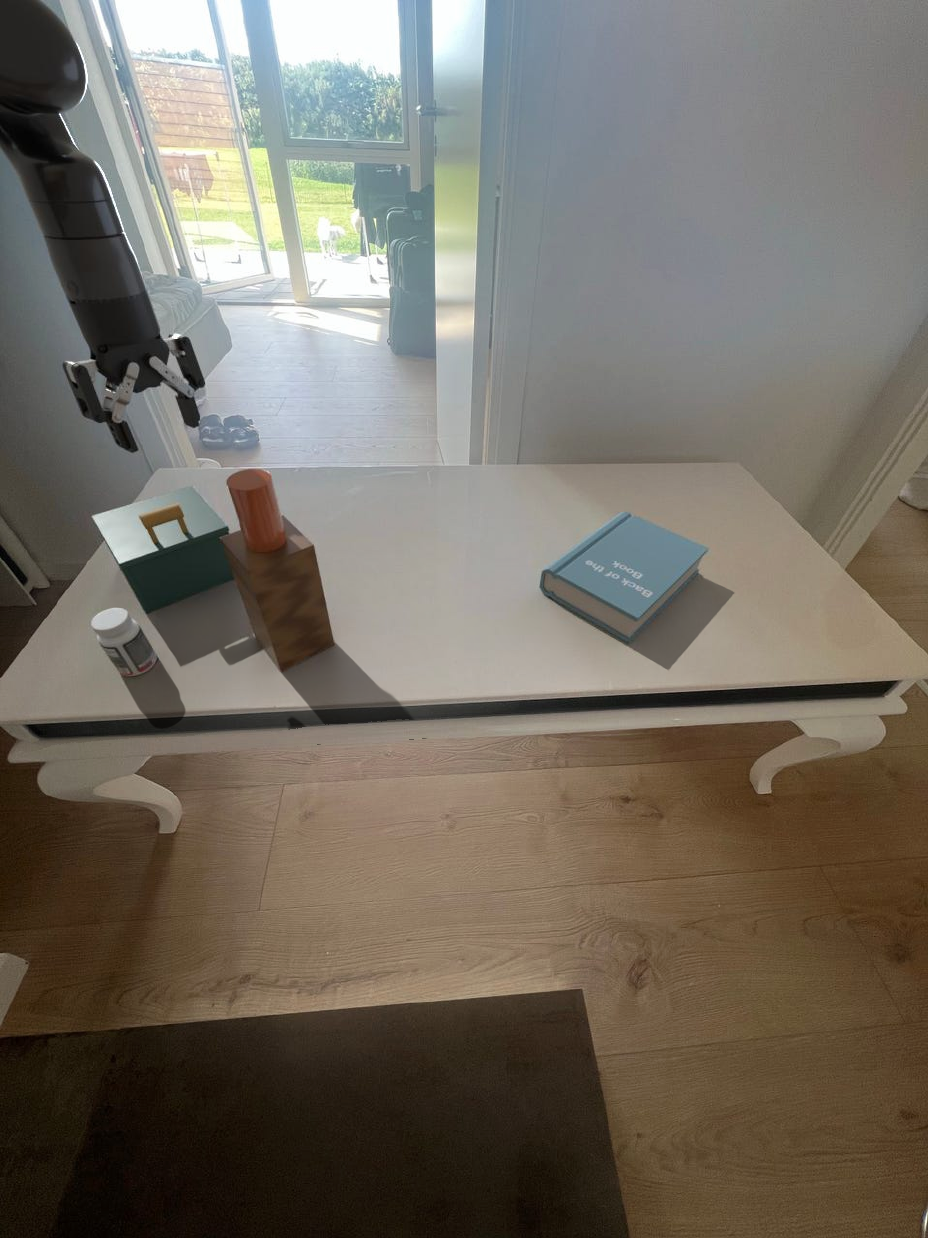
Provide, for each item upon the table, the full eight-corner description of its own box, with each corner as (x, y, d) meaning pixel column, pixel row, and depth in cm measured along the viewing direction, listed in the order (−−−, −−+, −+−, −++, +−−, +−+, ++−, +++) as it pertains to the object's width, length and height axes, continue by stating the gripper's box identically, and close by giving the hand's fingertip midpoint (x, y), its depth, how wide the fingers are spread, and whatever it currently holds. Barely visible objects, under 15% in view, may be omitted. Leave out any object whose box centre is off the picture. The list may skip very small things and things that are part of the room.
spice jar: (255, 557, 59) (236, 494, 53) (239, 538, 61) (219, 476, 55) (293, 543, 61) (279, 481, 55) (276, 525, 63) (260, 464, 58)
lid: (229, 530, 76) (219, 499, 72) (121, 568, 69) (103, 536, 65) (194, 489, 84) (183, 459, 80) (93, 520, 77) (76, 488, 73)
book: (628, 643, 74) (638, 618, 71) (538, 591, 82) (542, 566, 78) (698, 572, 87) (708, 548, 83) (613, 532, 94) (620, 508, 91)
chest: (243, 575, 83) (227, 528, 76) (145, 614, 76) (120, 566, 70) (211, 535, 90) (194, 490, 84) (119, 567, 83) (93, 520, 77)
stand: (280, 672, 69) (247, 571, 57) (255, 637, 73) (219, 537, 61) (334, 644, 72) (314, 544, 61) (307, 613, 77) (283, 514, 65)
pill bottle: (156, 646, 71) (131, 600, 65) (158, 670, 68) (132, 624, 62) (117, 656, 70) (87, 611, 64) (118, 682, 67) (87, 636, 61)
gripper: (146, 271, 60) (192, 411, 71) (12, 293, 51) (89, 450, 62) (188, 280, 57) (229, 426, 68) (54, 306, 48) (127, 468, 59)
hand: (163, 437), depth 65 cm, fingers open, 8 cm apart
